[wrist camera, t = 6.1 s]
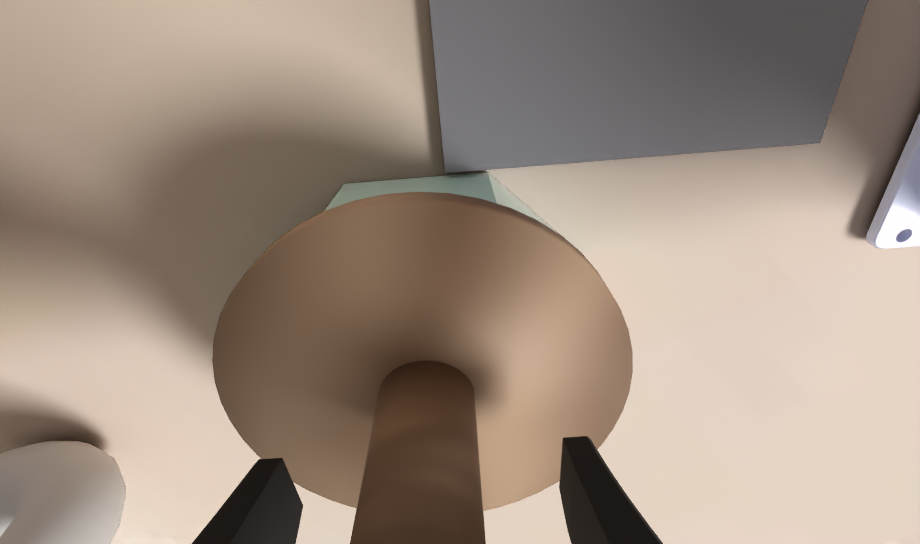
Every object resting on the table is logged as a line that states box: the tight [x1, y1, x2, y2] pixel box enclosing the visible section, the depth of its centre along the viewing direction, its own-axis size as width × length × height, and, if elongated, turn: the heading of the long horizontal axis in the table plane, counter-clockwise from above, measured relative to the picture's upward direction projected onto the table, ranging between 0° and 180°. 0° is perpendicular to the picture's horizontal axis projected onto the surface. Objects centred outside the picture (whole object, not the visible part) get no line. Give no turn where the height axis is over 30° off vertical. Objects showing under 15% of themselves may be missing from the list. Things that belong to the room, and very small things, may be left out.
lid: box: [212, 192, 632, 544], centre depth 11 cm, size 12×12×5 cm
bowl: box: [324, 172, 556, 232], centre depth 15 cm, size 12×12×4 cm
